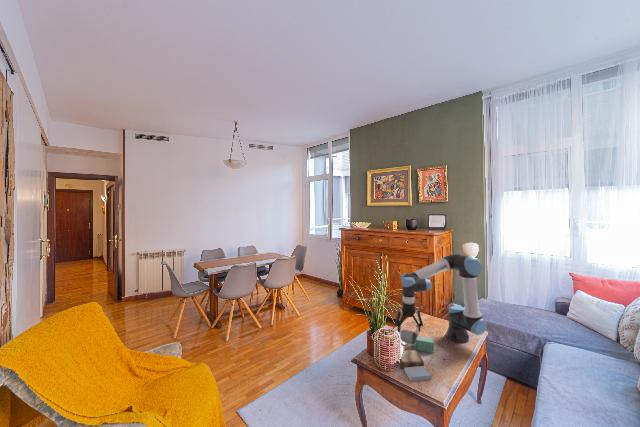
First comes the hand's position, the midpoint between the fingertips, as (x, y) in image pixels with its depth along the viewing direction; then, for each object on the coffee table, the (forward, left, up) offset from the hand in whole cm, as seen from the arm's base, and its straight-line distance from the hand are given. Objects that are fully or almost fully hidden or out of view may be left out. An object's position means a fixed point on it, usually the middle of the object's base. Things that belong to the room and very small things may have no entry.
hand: (408, 336), depth 171 cm
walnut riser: (0, 0, -17) cm, 17 cm away
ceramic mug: (+1, +1, -4) cm, 4 cm away
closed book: (-1, +13, -17) cm, 21 cm away
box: (-15, -16, -17) cm, 28 cm away
